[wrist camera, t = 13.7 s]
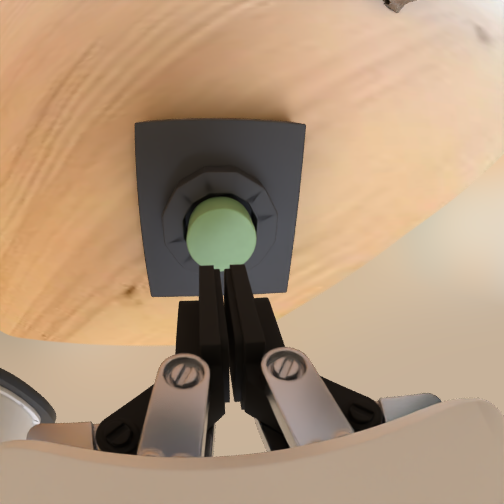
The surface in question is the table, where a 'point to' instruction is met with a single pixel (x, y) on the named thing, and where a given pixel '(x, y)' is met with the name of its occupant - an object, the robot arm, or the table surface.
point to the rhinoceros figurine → (397, 4)
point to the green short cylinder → (220, 233)
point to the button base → (217, 193)
